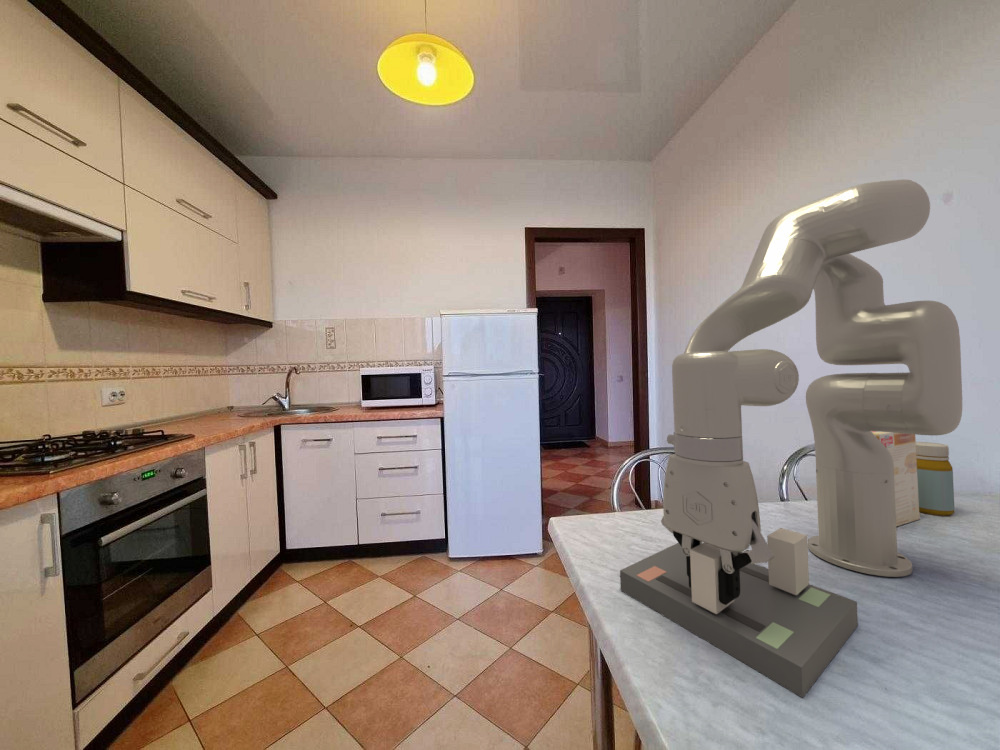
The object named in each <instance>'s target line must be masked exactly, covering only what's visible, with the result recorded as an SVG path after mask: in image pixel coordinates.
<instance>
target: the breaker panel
mask: <svg viewBox="0 0 1000 750" xmlns="http://www.w3.org/2000/svg"><path fill="white" fill-rule="evenodd" d="M619 577H620V578H619V580H620V581H619V582H620V591H621V592H622V593H624V594H626V595H628V596H630V597H632V598H633V599H634V600H637V601H638V602H640V603H641V604H642V605H645V606H646V607H649V608H650V609H651V610H652V611H655V612H657V613H658V614H660V615H662V616H663V617H665V618H667V619H668V620H670V621H673V623H675V624H676V625H678V626H680V627H681V628H684V629H685V630H687V631H689V632H691V633H692V634H694V635H696V636H697V637H699V638H700V639H702V640H703V641H705V642H708V643H709V644H711V645H712V646H714V647H716V648H718V649H719V650H721V651H722V652H724V653H726V654H728V655H729V656H731V657H733V658H735V659H736V660H738V661H740V662H742V663H743V664H745V665H746V666H748V667H750V668H752V669H753V670H755V671H756V672H758V673H760V674H762V675H763V676H765V677H766V678H768V679H770V680H772V681H774V682H775V683H777V684H779V685H780V686H782V687H783V688H785V689H787V690H789V691H791V692H792V693H794V694H796V695H797V696H799V697H801V698H804V697H805V696H806V695H807V693H808V692H809V691H810V689H811V688H812V686H813V685H814V684H815V683H816V681H817V680H818V679H819V677H820V676H821V675H822V674H823V672H824V671H825V669H826V668H827V667H828V665H829V664H830V663H831V662H832V660H833V659H834V658H835V656H836V655H838V652H839V651H840V650H841V649H842V647H843V646H844V645H845V643H846V642H847V641H848V640H849V638H850V637H851V635H852V634H853V633H854V632H855V630H856V629H857V628H858V627H859V621H858V620H859V619H858V618H859V617H858V601H855V600H853V599H850V598H848V597H844V596H842V595H839V594H837V593H834V592H832V591H829V590H826V589H823V588H821V587H818V586H815V585H813V584H810V583H809V585H808V586H806V587H805V588H804V589H803V590H802V591H801V592H800V593H799V594H797V595H794V594H792V593H789V592H787V591H784V590H782V589H779V588H777V587H774V586H772V585H769V568H766V567H764V566H761V565H760V564H759V565H758V564H748V565H746V566H744V567H742V568H741V569H740V595H739V597H737V598H735V599H734V602H733V603H731V604H730V605H729V606H727V607H726V608H724V609H723V610H722V611H720V612H719V613H718V614H715V613H713V612H711V611H709V610H707V609H705V608H703V607H701V606H700V605H698V604H696V603H694V602H692V590H691V588H690V587H689V577H688V576H687V562H686V556H685V555H684V554H683V553H682V547H681V545H680V544H679V543H678V542H677V543H674V544H673V545H670V546H668V547H666V548H664V549H662V550H660V551H658V552H656V553H654V554H652V555H650V556H648V557H645V558H643V559H641V560H639V561H637V562H634V563H633V564H631V565H628V566H626V567H624V568H622V569H620V570H619Z"/></svg>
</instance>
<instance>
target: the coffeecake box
mask: <svg viewBox="0 0 1000 750" xmlns="http://www.w3.org/2000/svg"><path fill="white" fill-rule="evenodd" d="M871 432H872V433H873V434H874V435H875V436H876V437H877V438H878V439H879V440H880V441H881V442H882V443H883V445H884V446H885V447H886V448H887V450H888V451H889V452H890V454H891V456H892V459H893V464H894V488H895V511H896V528H897V527H900V526H902V525H903V526H904V525H906V524H909V523H912V522H915V521H918V520H920V519H921V517H920V512H919V498H918V478H917V459H916V442H917V439H916V434H903V433H892V432H880V431H878V432H875V431H871Z"/></svg>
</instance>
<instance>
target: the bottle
mask: <svg viewBox="0 0 1000 750" xmlns="http://www.w3.org/2000/svg"><path fill="white" fill-rule="evenodd" d="M949 448H950V447H949V445H948V444H945V443H939V442H937V443H936V442H928V441H916V459H917V478H918V498H919V513H921V514H926V515H930V516H931V515H932V516H940V517H947V516H948V517H949V516H951V515H953V514H955V509H956V508H955V493H954V490H955V489H954V469H953V466H952V464H951V462H950V461H949V460H950V456H949V455H950V451H949V450H950V449H949Z"/></svg>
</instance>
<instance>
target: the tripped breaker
mask: <svg viewBox="0 0 1000 750" xmlns="http://www.w3.org/2000/svg"><path fill="white" fill-rule="evenodd" d="M690 563H691V590H692V602H694V603H696V604H698V605H700V606H701V607H703V608H705V609H707V610H709V611H711V612H713V613H715V614H718V613H719V612H720V611H722V610H723V609H724V608H726V607H727V606H729V605H730V604H731V603H733V602H734V600H732V601H731V602H730V603H728V604H727V605H724V604H722V603H721V602H720V601H719V583H718V571H719V570H720V569H722V560H721V553H720V548H718V547H715V546H712V545H710V544H707V543H704V542H702V544H700V545H698V546H696V547H694V548H692V549H690Z"/></svg>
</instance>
